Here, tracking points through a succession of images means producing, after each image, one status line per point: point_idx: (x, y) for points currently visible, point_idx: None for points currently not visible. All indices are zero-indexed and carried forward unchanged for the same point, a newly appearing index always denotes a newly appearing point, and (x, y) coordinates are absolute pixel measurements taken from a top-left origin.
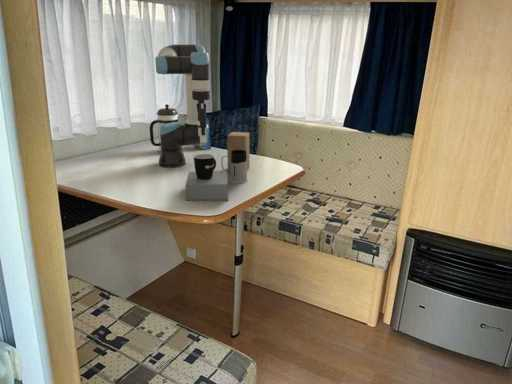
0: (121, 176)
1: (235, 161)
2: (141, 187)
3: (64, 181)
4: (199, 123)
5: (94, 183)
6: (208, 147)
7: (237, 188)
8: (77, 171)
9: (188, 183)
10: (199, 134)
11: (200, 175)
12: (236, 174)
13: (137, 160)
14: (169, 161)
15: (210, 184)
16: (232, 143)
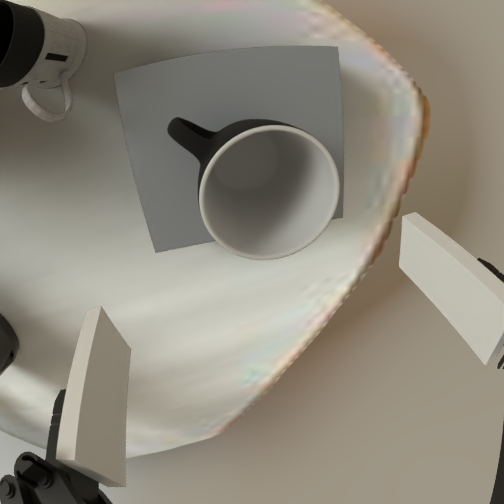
0: (130, 397)
1: (36, 47)
2: (199, 344)
3: (194, 440)
4: (117, 461)
5: (193, 414)
6: None
7: (157, 28)
8: (134, 444)
9: None
10: (124, 353)
11: (290, 176)
12: (68, 48)
13: (17, 394)
14: (6, 343)
15: (342, 118)
16: None
